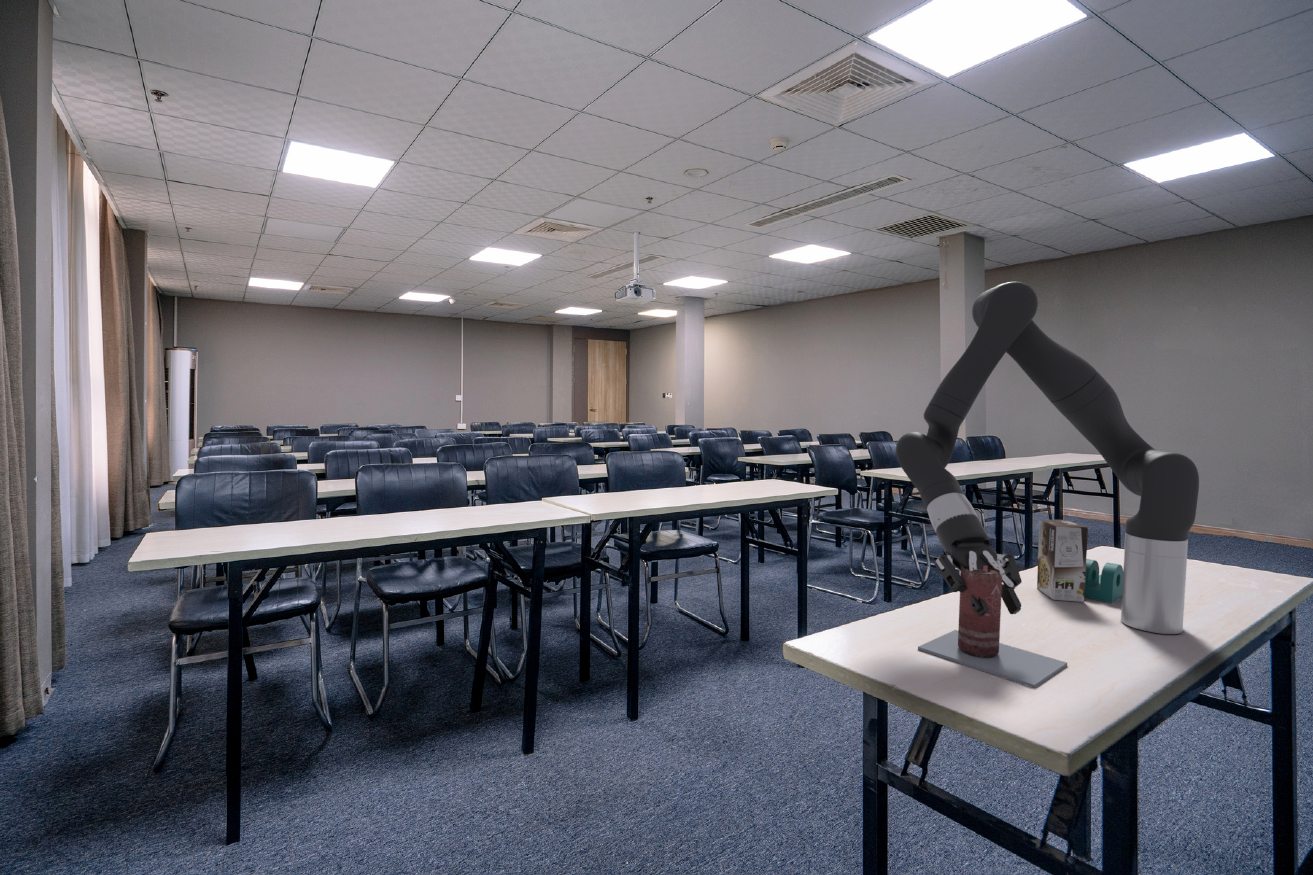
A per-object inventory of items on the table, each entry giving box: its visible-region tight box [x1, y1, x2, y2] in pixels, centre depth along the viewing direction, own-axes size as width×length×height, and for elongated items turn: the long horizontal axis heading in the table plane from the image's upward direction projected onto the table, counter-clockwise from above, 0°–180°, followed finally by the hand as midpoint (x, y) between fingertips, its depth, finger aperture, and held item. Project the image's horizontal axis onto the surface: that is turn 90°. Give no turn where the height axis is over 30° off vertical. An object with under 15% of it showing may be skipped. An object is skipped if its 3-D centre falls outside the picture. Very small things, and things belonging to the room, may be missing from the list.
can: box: [957, 565, 1003, 658], centre depth 103 cm, size 6×6×14 cm
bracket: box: [1084, 558, 1124, 604], centre depth 140 cm, size 18×7×8 cm, turn 128°
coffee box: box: [1036, 519, 1089, 603], centre depth 137 cm, size 9×6×16 cm
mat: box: [917, 629, 1068, 689], centre depth 103 cm, size 13×18×1 cm
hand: (999, 612), depth 100 cm, fingers open, 5 cm apart
